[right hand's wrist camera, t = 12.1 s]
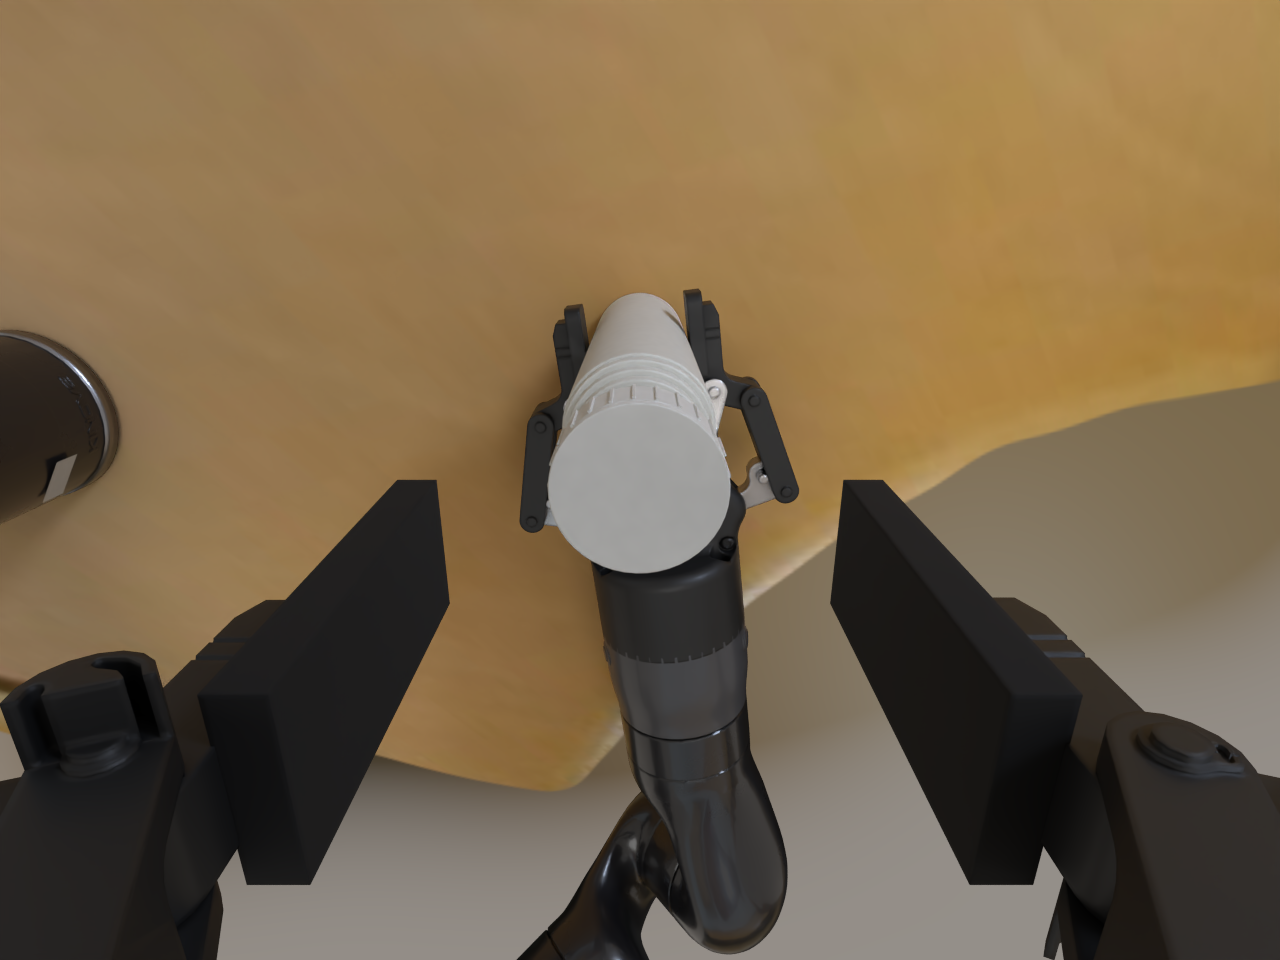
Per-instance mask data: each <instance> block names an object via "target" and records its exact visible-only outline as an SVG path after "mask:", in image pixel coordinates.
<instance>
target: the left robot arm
mask: <svg viewBox="0 0 1280 960" xmlns="http://www.w3.org/2000/svg"><path fill="white" fill-rule="evenodd" d="M683 295H684V306H685V316H686V327H687V337H688V342H689V345H690V347H691V350H692V352H693V355H694V357H695V360H696V362H697V365H698V367H699V370H700V373H701V375H702V378H703V380H704V383H705V385H706V388H707V390H708V393H709V396H710V398H711V401H712V403H713V407H714V410H715V415H716V423H717V427H716V436H717V437H718V428H719V424H720V420H721V416H722V412H723V408H724V406H728V407H733V408H737V409H741V411H742V414H743V417H744V419H745V422H746V425H747V428H748V431H749V433H750V436H751V439H752V442H753V444H754V447H755V450H756V453H757V455H758V456H757V457H754V458H752V459H751V460H750V461H749V462H748V464H747V466H746V471H747V478H746V480H745V482H744V483H743V484H742V485H740V486H737V485H736V484H735V483H734V482H733V481H732V480H731V479H730V500H729V506H728V509H727V513H726V516H725V518H724V520H723V523H722V525H721V527H720V529H719V530H718V532H717V533H716V535H715V536H714V538H713V539H712V540H711V541H710V542H709V543H708V545H707V546H706V547H704V548H703V549H702V550H701V551H700V552H699V553H698V554H696V555H695V556H693V557H692V558H691V559H689V560H687V561H685V562H684V563H682V564H680V565H677V566H675V567H672V568H670V569H666V570H662V571H658V572H651V573H627V572H621V571H616V570H612V569H609V568H606V567H603V566H601V565H599V564H597V563H595V562H593V561H591V564H592V570H593V576H594V582H595V588H596V594H597V600H598V606H599V612H600V618H601V624H602V630H603V636H604V646H603V650H604V655H605V658H606V661H607V662H608V667H609V672H610V676H611V680H612V683H613V686H614V690H615V692H616V695H617V698H618V701H619V706H620V711H621V717H622V724H623V730H624V736H625V742H626V748H627V753H628V759H629V763H630V767H631V770H632V773H633V776H634V778H635V780H636V782H637V784H638V786H639V788H640V790H641V792H640V793H639V794H638V795H637V796H636V797H635V799H634V800H633V801H632V802H631V803H630V805H629V806H628V807H627V809H626V810H625V812H624V813H623V815H622V816H621V818H620V819H619V821H618V823H617V824H616V826H615V828H614V829H613V831H612V833H611V834H610V836H609V838H608V839H607V841H606V843H605V845H604V846H603V848H602V850H601V851H600V853H599V855H598V856H597V858H596V860H595V861H594V863H593V865H592V866H591V868H590V869H589V871H588V872H587V874H586V876H585V877H584V879H583V881H582V882H581V884H580V886H579V888H578V889H577V891H576V893H575V895H574V896H573V898H572V900H571V901H570V903H569V904H568V906H567V908H566V909H565V911H564V912H563V913H562V914H561V915H560V916H559V917H558V918H557V919H556V920H555V921H554V922H553V923H552V924H551V925H550V926H549V927H548V930H545V931H544V932H543V933H542V934H541V935H540V936H539V937H538V938H537V939H536V940H535V941H534V942H533V943H532V945H531V946H530V947H529V948H528V949H527V950H526V951H525V952H524V953H523V954H522V955H521V956H520V957H519V958H518V959H517V960H649V958H648V956H647V954H646V952H645V949H644V947H643V944H642V940H641V931H642V927H643V924H644V921H645V918H646V916H647V914H648V911H649V909H650V907H651V905H652V903H653V901H654V899H655V898H656V897H657V898H658V899H659V901H660V902H661V903H662V904H663V905H664V907H665V908H666V909H667V910H668V911H669V912H670V914H671V915H672V916H673V917H674V918H675V920H676V921H677V922H678V923H679V924H680V926H681V927H682V928H683V929H684V930H685V931H686V933H687V934H688V935H689V936H690V937H691V938H692V939H693V940H695V941H696V942H697V943H698V944H700V945H701V946H703V947H704V948H706V949H708V950H710V951H712V952H716V953H721V954H736V953H740V952H744V951H747V950H749V949H751V948H753V947H754V946H756V945H757V944H758V943H760V942H761V941H762V940H763V939H764V938H765V937H766V936H767V935H768V934H769V932H770V931H771V930H772V928H773V927H774V925H775V923H776V921H777V919H778V917H779V915H780V912H781V909H782V906H783V903H784V900H785V895H786V890H787V858H786V852H785V847H784V843H783V838H782V835H781V832H780V828H779V825H778V822H777V819H776V817H775V814H774V811H773V808H772V805H771V803H770V800H769V797H768V794H767V791H766V788H765V786H764V783H763V780H762V778H761V776H760V773H759V771H758V769H757V767H756V764H755V762H754V760H753V757H752V754H751V751H750V736H749V721H748V710H747V698H746V678H747V665H748V659H747V647H748V631H747V629H746V626H745V620H744V606H743V595H742V583H741V571H740V559H739V547H738V531H739V527H740V525H741V523H742V521H743V519H744V517H745V513H746V509H748V508H751V507H753V506H756V505H759V504H762V503H765V502H767V501H770V500H773V499H776V500H777V501H779V502H781V503H790V502H792V501H794V500H795V499H796V498H797V496H798V494H799V488H798V485H797V482H796V479H795V476H794V473H793V470H792V467H791V464H790V461H789V458H788V456H787V453H786V450H785V447H784V444H783V441H782V438H781V435H780V432H779V429H778V427H777V424H776V421H775V418H774V415H773V412H772V409H771V406H770V403H769V400H768V398H767V395H766V393H765V392H764V390H763V389H762V388H760V385H759V384H758V382H757V381H756V380H755V379H754V378H752V377H743V378H742V377H737V376H733V375H730V374H728V373H726V372H725V371H724V369H723V360H722V347H721V335H720V323H719V314H718V312H717V310H716V308H715V306H714V304H713V303H712V302H711V301H703V302H702V295H701V291H700V290H699V289H692V290H684V291H683ZM564 316H565V319H564V320H559V321H558V322H557V323H556V324H555V329H554V333H553V340H554V346H555V352H556V357H557V364H558V370H559V376H560V382H561V389H562V390H561V394H560V395H559V396H557V397H555V398H554V399H552V400H550V401H548V402H542V403H540V404H539V405H538V406H537V407H536V409H535V411H534V412H533V414H532V416H531V418H530V420H529V421H528V425H527V436H526V448H525V461H524V473H523V485H522V497H521V509H520V525H521V527H522V528H523V529H524V530H525V531H527V532H531V533H535V532H538V531H540V530H541V529H542V528H543V526H544V525H550V526H557V524H556V522H555V520H554V517H553V515H552V512H551V509H550V504H549V499H548V487H547V483H548V477H549V472H550V467H551V466H549V463H550V460H551V458H552V455H553V452H554V450H555V447H556V442H557V432H558V430H560V429H562V423H563V414H564V409H565V406H566V403H567V400H568V398H569V395H570V393H571V390H572V388H573V385H574V383H575V380H576V378H577V375H578V373H579V370H580V368H581V365H582V363H583V360H584V358H585V356H586V353H587V351H588V348H589V341H588V334H587V328H586V321H585V314H584V309H583V305H582V304H578V305H570V306H567V307H566V308H565V309H564ZM117 445H118V423H117V418H116V413H115V410H114V407H113V404H112V402H111V400H110V398H109V396H108V394H107V392H106V390H105V388H104V387H103V385H102V384H101V382H100V381H99V380H98V378H97V377H96V376H95V374H94V373H93V372H92V371H91V370H90V369H89V368H88V367H87V366H86V365H85V364H84V363H83V362H82V361H81V360H80V359H79V358H77V357H76V356H75V355H74V354H72V353H71V352H70V351H68V350H67V349H65V348H64V347H62V346H60V345H58V344H57V343H55V342H53V341H51V340H49V339H46V338H44V337H41V336H38V335H35V334H32V333H28V332H23V331H15V330H0V524H3V523H5V522H7V521H9V520H11V519H13V518H15V517H17V516H19V515H21V514H24V513H26V512H28V511H30V510H32V509H35V508H37V507H39V506H41V505H43V504H45V503H47V502H49V501H51V500H54V499H56V498H58V497H60V496H63V495H66V494H70V493H72V492H74V491H77V490H79V489H81V488H83V487H85V486H87V485H89V484H91V483H93V482H94V481H96V480H97V479H98V478H99V477H101V476H102V475H103V474H104V473H105V471H106V470H107V469H108V468H109V466H110V464H111V463H112V461H113V459H114V456H115V453H116V450H117Z"/></svg>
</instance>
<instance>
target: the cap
mask: <svg viewBox="0 0 1280 960" xmlns="http://www.w3.org/2000/svg"><path fill="white" fill-rule="evenodd" d="M556 445H558V446H556V447H555V450H554V452H553V455H552V458H551V460H550V463H549V466H551V467H550V472H549V477H548V483H547V487H548V499H549V504H550V509H551V512H552V515H553V517H554V520H555V522H556V524H557V526H558V528H559V530H560V531H561V533H562V534H563V536H564V537H565V538H566V540H567V541H568V542H569V543H570V544H571V545H572V546H573V547H574V548H575V549H576V550H577V551H578V552H580V553H581V554H582V555H583V556H585V557H586V558H588V559H589V560H591V561H593V562H595V563H597V564H599V565H601V566H603V567H606V568H609V569H612V570H616V571H621V572H627V573H651V572H658V571H662V570H666V569H670V568H672V567H675V566H677V565H680V564H682V563H684V562H685V561H687V560H689V559H691V558H692V557H693V556H695V555H696V554H698V553H699V552H700V551H701V550H702V549H703V548H704V547H706V546H707V545H708V543H709V542H710V541H711V540H712V539H713V538H714V536H715V535H716V533H717V532H718V530H719V529H720V527H721V525H722V523H723V520H724V518H725V516H726V513H727V509H728V506H729V500H730V478H731V474H730V471H729V468H728V466H727V463H726V460H725V457H726V456H727V455H726V453H725V450H724V447H723V444H722V442H721V439H720V437H719V438H717V436H716V433H715V430H714V427H713V424H712V421H711V420H710V419H709V420H707V418H706V417H705V416H704V415H703V413H702V412H701V411H700V410H699V409H698V406H697V405H696V404H694V405H693V404H692V403H690V402H689V401H687V400H686V399H684V398H683V397H681V396H680V395H679V393H678V392H676V393H672V392H670V391H667V390H664V389H660V388H658V386H656V385H655V387H649V386H636V384H633V385H632V386H629V387H623V388H618V389H615V390H614V388H611V390H610V391H608V392H606V393H604V394H601V395H599V396H598V397H596V398H594V397H592V398H591V399H590V401H589V402H588V403H587V404H586V405H584V406H583V407H582V408H581V409H580V410H579V411H577V410H576V411H575V412H574V414H573V417H572V419H571V420H570V422H569V423H568V425H567V426H566V428H565V427H563V429H562V431H561V434H560V436H559V439H558V442H557V444H556Z"/></svg>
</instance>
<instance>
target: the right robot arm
mask: <svg viewBox="0 0 1280 960" xmlns="http://www.w3.org/2000/svg"><path fill="white" fill-rule="evenodd" d="M449 604H450V602H449V592H448V583H447V574H446V564H445V555H444V546H443V536H442V527H441V518H440V508H439V499H438V490H437V480H397V481H396V482H395V483H394V484H393V485H392V486H391V487H390V488H389V489H388V490H387V492H386V493H385V494H384V495H383V496H382V497H381V498H380V499H379V500H378V501H377V502H376V503H375V504H374V506H373V507H372V508H371V509H370V510H369V511H368V512H367V513H366V514H365V515H364V516H363V517H362V518H361V519H360V521H359V522H358V523H357V524H356V525H355V526H354V527H353V528H352V529H351V530H350V531H349V532H348V533H347V534H346V536H345V537H344V538H343V539H342V540H341V541H340V542H339V543H338V544H337V545H336V546H335V547H334V548H333V550H332V551H331V552H330V553H329V554H328V555H327V556H326V557H325V558H324V559H323V560H322V561H321V562H320V563H319V565H318V566H317V567H316V568H315V569H314V570H313V571H312V572H311V573H310V574H309V575H308V576H307V577H306V578H305V580H304V581H303V582H302V583H301V584H300V585H299V586H298V587H297V588H296V589H295V590H294V591H293V592H292V594H291V595H290V596H289V597H288V598H287V599H286V600H265V601H263V602H262V603H260V604H258V605H256V606H255V607H253V608H251V609H249V610H247V611H246V612H244V613H242V614H240V615H239V616H237V617H235V618H234V619H233V620H232V621H231V622H230V623H229V624H228V625H227V626H226V627H225V628H224V629H223V630H222V631H221V632H220V633H219V634H218V635H217V636H216V637H215V638H214V641H213V643H208V644H207V645H206V646H205V647H204V648H203V649H202V650H201V651H200V652H199V653H198V654H197V655H196V660H191V661H190V662H189V663H188V664H187V665H186V666H185V667H184V668H183V669H182V670H181V671H180V672H179V673H178V674H177V675H176V676H175V677H174V678H173V679H172V680H171V681H170V682H169V683H168V684H167V685H166V686H165V687H164V688H163V687H162V683H161V680H160V676H159V672H158V669H157V665H156V662H155V660H153V659H152V658H150V657H149V656H147V655H146V654H144V653H139V652H131V651H116V652H107V653H98V654H94V655H90V656H86V657H82V658H79V659H75V660H71V661H68V662H65V663H63V664H61V665H58V666H56V667H53V668H51V669H49V670H46V671H44V672H41V673H39V674H38V675H36V676H34V677H33V678H31V679H29V680H28V681H26V682H25V683H23V684H21V685H20V686H18V687H16V688H15V689H14V690H13V691H12V692H11V693H10V694H9V695H8V696H7V697H6V698H5V699H4V700H3V701H2V702H1V703H0V707H1V710H2V713H3V715H4V718H5V720H6V723H7V726H8V728H9V731H10V733H11V736H12V739H13V741H14V744H15V747H16V749H17V752H18V754H19V757H20V759H21V762H22V765H23V767H24V770H25V771H24V773H23V775H22V776H21V777H19V778H14V779H9V780H4V781H0V960H217V952H218V945H219V938H220V931H221V923H222V916H223V904H222V897H221V892H220V889H219V885H218V882H217V880H218V878H219V877H220V875H221V873H222V872H223V870H224V869H225V867H226V866H227V864H228V862H229V861H230V859H231V858H232V856H233V855H234V853H235V852H236V850H237V849H238V853H239V857H240V861H241V864H242V868H243V872H244V876H245V880H246V883H247V885H310V884H311V882H312V880H313V878H314V876H315V874H316V872H317V870H318V868H319V866H320V864H321V862H322V860H323V858H324V856H325V854H326V852H327V850H328V848H329V846H330V844H331V842H332V840H333V838H334V836H335V834H336V832H337V830H338V828H339V826H340V824H341V822H342V820H343V818H344V816H345V814H346V812H347V810H348V808H349V806H350V804H351V802H352V800H353V798H354V796H355V794H356V792H357V790H358V788H359V785H360V784H361V781H362V779H363V777H364V775H365V773H366V771H367V769H368V767H369V765H370V763H371V761H372V759H373V757H374V755H375V753H376V751H377V749H378V747H379V745H380V743H381V741H382V739H383V737H384V735H385V733H386V731H387V729H388V727H389V725H390V723H391V721H392V719H393V717H394V715H395V713H396V711H397V709H398V707H399V705H400V703H401V701H402V699H403V697H404V695H405V693H406V691H407V689H408V687H409V685H410V683H411V681H412V679H413V677H414V675H415V673H416V670H417V668H418V666H419V664H420V662H421V660H422V658H423V656H424V654H425V652H426V650H427V648H428V646H429V644H430V642H431V640H432V638H433V636H434V634H435V632H436V630H437V628H438V626H439V624H440V622H441V620H442V618H443V616H444V614H445V612H446V610H447V608H448V606H449ZM830 604H831V606H832V608H833V610H834V612H835V614H836V616H837V618H838V620H839V622H840V624H841V626H842V628H843V630H844V632H845V634H846V636H847V638H848V640H849V642H850V644H851V646H852V648H853V650H854V652H855V654H856V656H857V658H858V660H859V662H860V664H861V666H862V668H863V671H864V672H865V675H866V677H867V679H868V681H869V683H870V685H871V687H872V689H873V691H874V693H875V695H876V697H877V699H878V701H879V703H880V705H881V707H882V709H883V711H884V713H885V715H886V717H887V719H888V721H889V723H890V725H891V727H892V729H893V731H894V733H895V735H896V737H897V739H898V741H899V743H900V745H901V747H902V749H903V751H904V753H905V755H906V757H907V759H908V761H909V763H910V765H911V767H912V769H913V771H914V773H915V775H916V777H917V779H918V781H919V784H920V785H921V788H922V790H923V792H924V794H925V795H926V798H927V800H928V802H929V804H930V806H931V808H932V810H933V812H934V814H935V816H936V818H937V820H938V822H939V824H940V826H941V828H942V830H943V832H944V834H945V836H946V838H947V840H948V842H949V844H950V846H951V848H952V850H953V852H954V854H955V856H956V858H957V860H958V862H959V864H960V866H961V868H962V870H963V872H964V874H965V876H966V878H967V880H968V882H969V884H970V885H1033V883H1034V879H1035V876H1036V872H1037V868H1038V864H1039V861H1040V857H1041V853H1042V849H1043V846H1044V848H1045V849H1046V851H1047V852H1048V854H1049V855H1050V857H1051V859H1052V860H1053V862H1054V863H1055V865H1056V866H1057V868H1058V869H1059V871H1060V873H1061V874H1062V876H1063V877H1064V878H1063V882H1062V885H1061V889H1060V892H1059V896H1058V899H1057V903H1056V906H1055V910H1054V913H1053V917H1052V921H1051V924H1050V928H1049V931H1048V935H1047V938H1046V943H1045V950H1044V957H1046V958H1049V959H1052V960H1054V959H1055V956H1056V952H1057V949H1058V946H1059V943H1062V950H1063V957H1064V960H1280V778H1277V777H1272V776H1268V775H1263V774H1258V773H1257V771H1256V770H1255V768H1254V767H1253V766H1252V765H1251V763H1250V762H1249V761H1248V760H1247V759H1246V757H1245V756H1244V755H1243V754H1242V753H1241V752H1240V751H1239V750H1237V749H1236V748H1235V747H1233V746H1232V745H1230V744H1229V743H1228V742H1226V741H1225V740H1224V739H1222V738H1221V737H1219V736H1218V735H1216V734H1214V733H1212V732H1210V731H1207V730H1205V729H1203V728H1201V727H1199V726H1197V725H1195V724H1193V723H1191V722H1188V721H1184V720H1181V719H1178V718H1174V717H1171V716H1168V715H1165V714H1159V713H1150V712H1145V711H1143V710H1142V709H1141V708H1140V707H1139V706H1138V705H1137V704H1136V703H1135V702H1134V701H1133V700H1132V699H1131V698H1130V697H1129V696H1128V695H1127V694H1126V693H1125V692H1124V691H1123V690H1122V689H1121V688H1120V687H1119V686H1118V685H1117V684H1116V683H1115V682H1114V681H1113V680H1112V679H1111V678H1110V677H1109V676H1108V675H1107V674H1106V673H1105V672H1104V671H1103V670H1101V669H1100V668H1099V667H1098V666H1097V665H1096V664H1095V663H1094V662H1093V661H1092V660H1091V659H1090V658H1085V653H1084V652H1083V651H1082V650H1081V649H1080V648H1079V647H1078V646H1077V645H1076V644H1075V643H1074V642H1073V641H1072V640H1067V635H1066V634H1065V633H1064V632H1062V631H1061V630H1060V629H1059V628H1058V627H1057V626H1056V625H1055V624H1054V623H1053V622H1052V621H1051V620H1050V619H1049V618H1048V617H1047V616H1046V615H1044V614H1043V613H1041V612H1039V611H1037V610H1036V609H1034V608H1032V607H1030V606H1028V605H1027V604H1025V603H1023V602H1021V601H1020V600H1018V599H1016V598H992V597H991V596H990V595H989V594H988V592H987V591H986V590H985V589H984V588H983V587H982V586H981V585H980V584H979V583H978V582H977V581H976V580H975V579H974V577H973V576H972V575H971V574H970V573H969V572H968V571H967V570H966V569H965V568H964V567H963V566H962V565H961V563H960V562H959V561H958V560H957V559H956V558H955V557H954V556H953V555H952V554H951V553H950V552H949V551H948V550H947V548H946V547H945V546H944V545H943V544H942V543H941V542H940V541H939V540H938V539H937V538H936V537H935V536H934V535H933V533H932V532H931V531H930V530H929V529H928V528H927V527H926V526H925V525H924V524H923V523H922V522H921V521H920V519H919V518H918V517H917V516H916V515H915V514H914V513H913V512H912V511H911V510H910V509H909V508H908V507H907V506H906V504H905V503H904V502H903V501H902V500H901V499H900V498H899V497H898V496H897V495H896V494H895V493H894V492H893V490H892V489H891V488H890V487H889V486H888V485H887V484H886V483H885V482H884V481H883V480H843V490H842V499H841V508H840V517H839V527H838V536H837V545H836V555H835V564H834V574H833V583H832V592H831V601H830Z"/></svg>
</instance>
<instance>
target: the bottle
mask: <svg viewBox="0 0 1280 960" xmlns="http://www.w3.org/2000/svg"><path fill="white" fill-rule="evenodd" d="M633 384H636V386H649V387H655V385H656V386H658V388H660V389H664V390H667V391H670V392H672V393H676V392H678V393H679V395H680V396H681V397H683V398H684V399H686V400H687V401H689V402H690V403H692V404H693V405H694V404H696V405H697V406H698V409H699V410H700V411H701V412H702V413H703V415H704V416H705V417H706V418H707V420H709V419H710V420H711V421H712V424H713V427H714V430H715V433H716V427H717V423H716V415H715V410H714V407H713V403H712V401H711V398H710V396H709V393H708V390H707V388H706V385H705V383H704V380H703V378H702V375H701V373H700V370H699V367H698V365H697V362H696V360H695V357H694V355H693V352H692V350H691V347H690V345H689V342H688V339H687V337H686V334H685V332H684V329H683V327H682V324H681V322H680V319H679V317H678V315H677V313H676V312H675V311H674V309H673V308H672V307H671V306H670V305H669V304H668V303H667V302H666V301H664V300H663V299H661V298H659V297H657V296H654V295H651V294H647V293H633V294H629V295H625V296H623V297H621V298H619V299H617V300H616V301H614V302H613V303H612V304H611V305H610V306H609V307H608V308H607V309H606V310H605V312H604V313H603V315H602V317H601V319H600V321H599V323H598V326H597V328H596V331H595V333H594V336H593V338H592V341H591V343H590V346H589V348H588V351H587V353H586V356H585V358H584V360H583V363H582V365H581V368H580V370H579V373H578V375H577V378H576V380H575V383H574V385H573V388H572V390H571V393H570V395H569V398H568V400H567V403H566V406H565V409H564V414H563V423H562V429H563V427H565V428H566V426H567V425H568V423H569V422H570V420H571V419H572V417H573V414H574V412H575V411H576V410H577V411H579V410H580V409H581V408H582V407H583V406H584V405H586V404H587V403H588V402H589V401H590V399H591V398H592V397H594V398H596V397H598V396H599V395H601V394H604V393H606V392H608V391H610V390H611V388H614V390H615V389H618V388H623V387H629V386H632V385H633Z"/></svg>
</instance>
